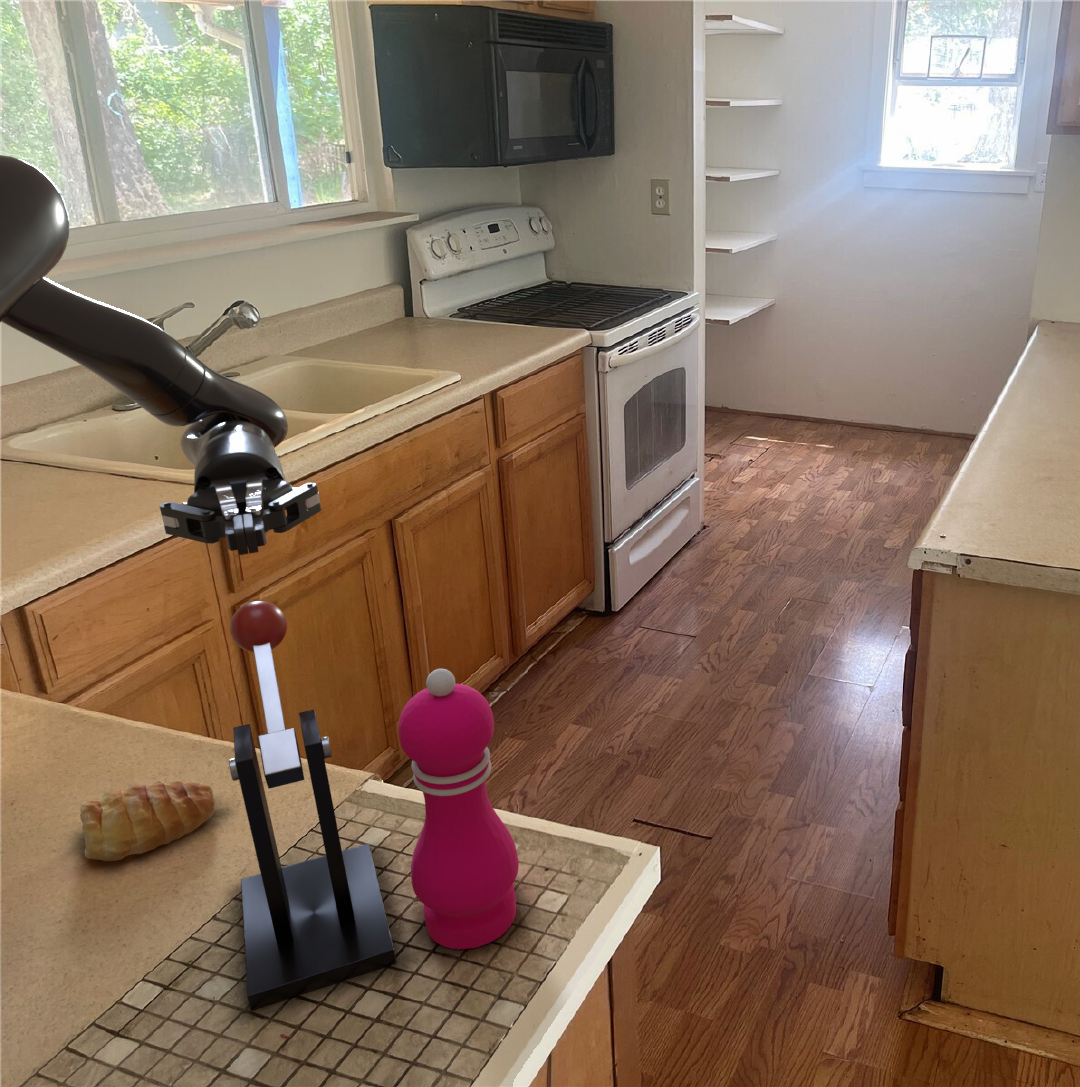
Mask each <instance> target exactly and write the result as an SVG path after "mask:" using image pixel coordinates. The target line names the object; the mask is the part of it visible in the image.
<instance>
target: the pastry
mask: <svg viewBox="0 0 1080 1087" xmlns="http://www.w3.org/2000/svg"><path fill="white" fill-rule="evenodd" d="M216 807H217V806H216V800H215V798H214V793H213V789H212V787H211V786H210V785H207V784H201V783H198V782H183V781H180V780H176V781H171V782H168V783H167V782H166V783H163V782H161V781H155V782H152V783H150V784H143V785H142V784H138V783H131V784H130V785H128V786H127V787H126V788H125V789H124V790H120V789H119V790H118V789H108V790H106V791H105V792H104V793H103V794H102V795H101V796H100V798H99V799H96V800H85V801H83V802H81V804H80V810H79V812H80V814H79V817H80V821H81V824H82V830H83V836H84V846H85V849H84V858H86V859H89V860H95V861H103V862H115V861H116V862H117V861H123V859H124V858H125V857H128V856H131V855H142V854H144V853H147V852H150V851H153V850H155V849H156V848H157V847H160V846H163V845H166V844H167V845H168V844H170V843H171V842H172V841H174V840H180V838H182V837H184V836H186V835H189V834H191V833H193V832H194V831H195V830H196V829H198V828H199V827H200V826H202V825H203V823H205V822H206V821H208V820H210V819H211V818H212V817H213V815H214V813H215V812H216V809H217V808H216Z"/></svg>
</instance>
